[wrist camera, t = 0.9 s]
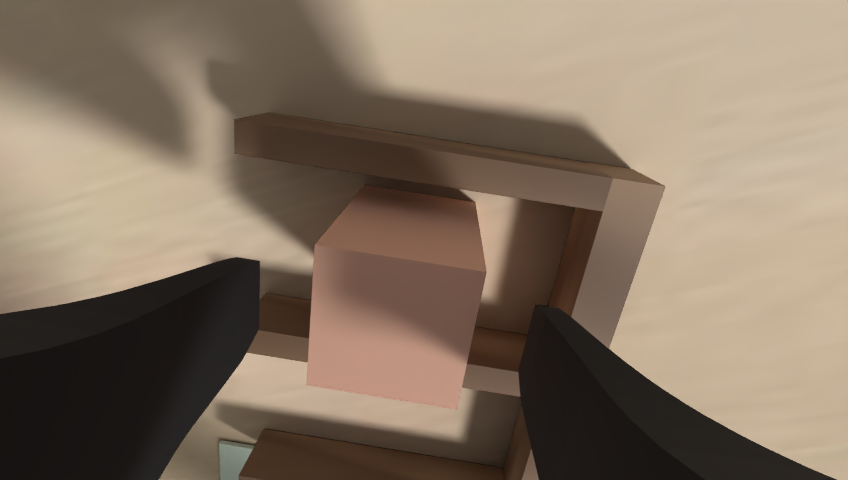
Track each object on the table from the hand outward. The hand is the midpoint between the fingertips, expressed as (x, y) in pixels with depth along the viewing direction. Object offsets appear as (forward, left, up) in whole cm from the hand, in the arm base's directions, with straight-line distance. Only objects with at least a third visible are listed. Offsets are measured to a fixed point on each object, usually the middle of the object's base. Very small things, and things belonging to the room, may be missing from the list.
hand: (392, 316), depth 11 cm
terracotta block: (0, 0, -5) cm, 5 cm away
